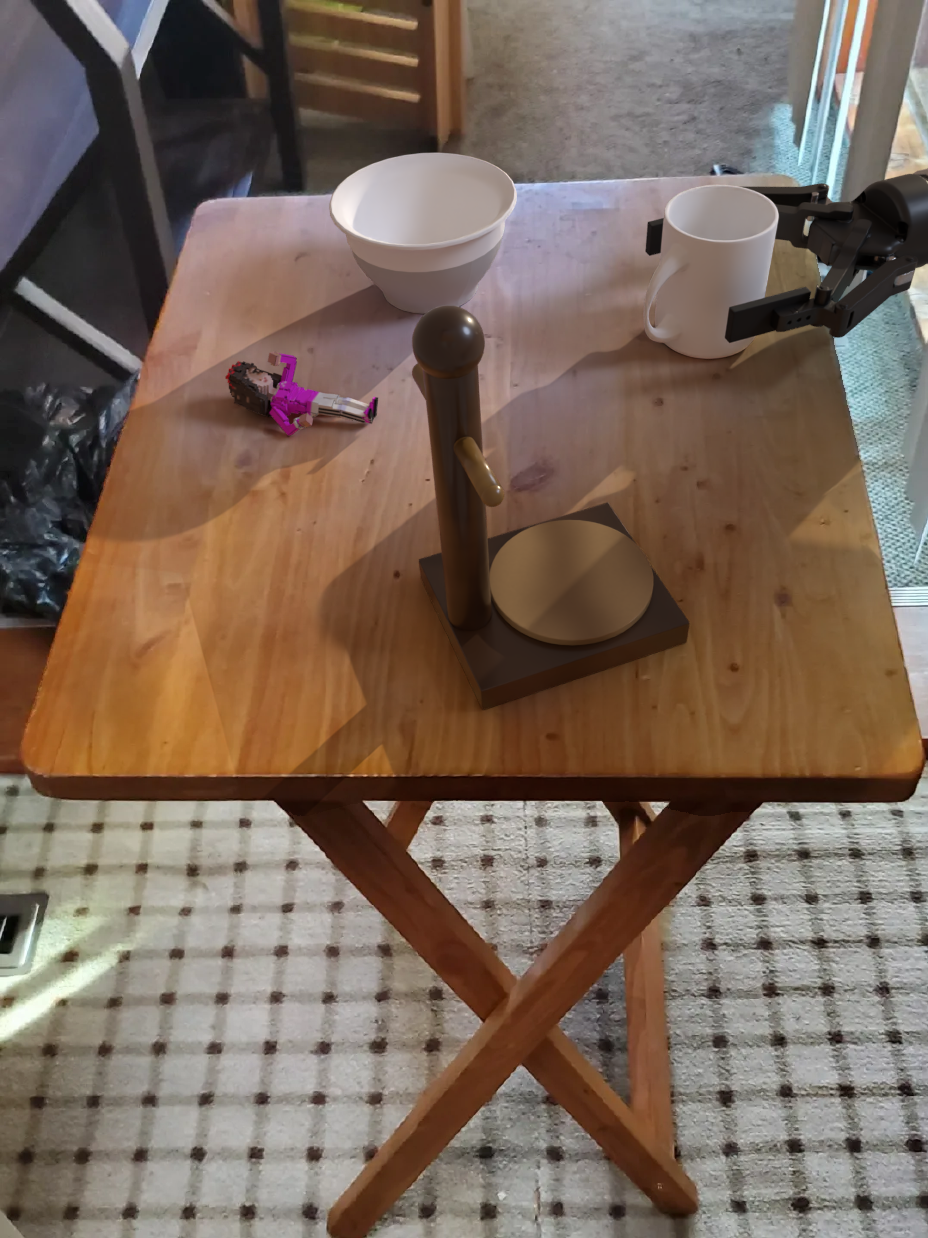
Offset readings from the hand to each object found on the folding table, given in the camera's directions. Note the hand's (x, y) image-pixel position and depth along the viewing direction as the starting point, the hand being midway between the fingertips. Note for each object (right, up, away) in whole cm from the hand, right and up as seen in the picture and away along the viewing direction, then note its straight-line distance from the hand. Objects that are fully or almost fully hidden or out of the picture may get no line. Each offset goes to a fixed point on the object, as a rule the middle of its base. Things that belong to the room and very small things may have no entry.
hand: (686, 280), depth 85 cm
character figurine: (-30, -11, +1) cm, 32 cm away
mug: (+1, -4, +5) cm, 6 cm away
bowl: (-21, +3, +12) cm, 24 cm away
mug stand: (-12, -26, -14) cm, 32 cm away
